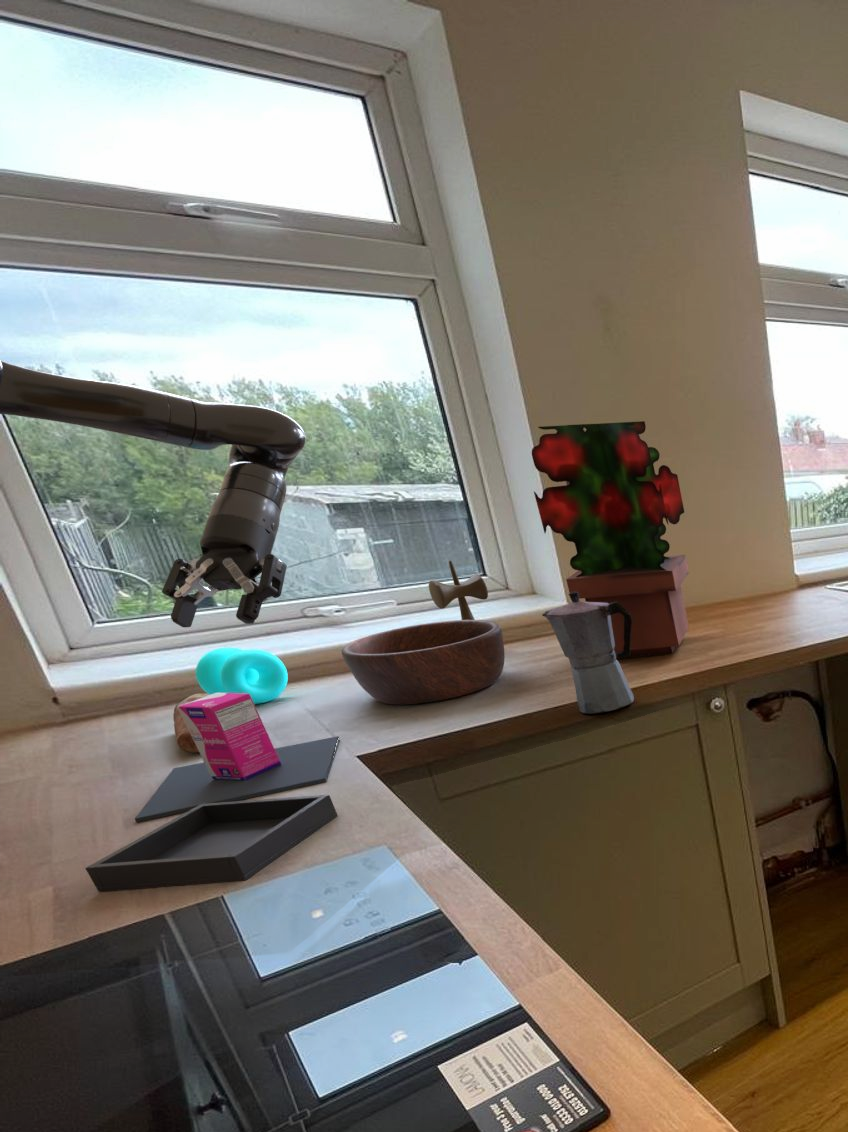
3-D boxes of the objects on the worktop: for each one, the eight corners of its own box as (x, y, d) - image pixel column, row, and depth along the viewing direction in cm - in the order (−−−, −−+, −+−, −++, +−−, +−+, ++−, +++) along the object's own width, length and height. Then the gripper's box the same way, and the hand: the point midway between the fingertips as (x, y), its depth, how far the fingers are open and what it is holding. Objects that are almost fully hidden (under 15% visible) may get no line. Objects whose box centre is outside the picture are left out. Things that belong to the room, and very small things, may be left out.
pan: (98, 892, 90) (84, 868, 89) (211, 825, 104) (201, 803, 103) (245, 880, 91) (234, 856, 90) (338, 815, 105) (329, 794, 104)
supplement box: (210, 780, 116) (174, 705, 112) (251, 763, 121) (218, 691, 117) (243, 781, 115) (209, 706, 111) (283, 764, 120) (252, 691, 116)
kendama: (448, 656, 175) (418, 563, 167) (495, 645, 182) (469, 555, 174) (459, 660, 172) (429, 565, 164) (507, 649, 179) (480, 557, 171)
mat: (136, 822, 106) (134, 818, 106) (175, 771, 121) (173, 768, 121) (326, 781, 115) (324, 778, 115) (339, 739, 131) (338, 736, 131)
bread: (230, 719, 143) (217, 689, 140) (220, 751, 129) (205, 718, 126) (182, 728, 139) (168, 697, 137) (167, 762, 125) (150, 728, 123)
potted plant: (695, 657, 166) (647, 421, 148) (579, 668, 162) (517, 427, 144) (707, 630, 186) (666, 420, 168) (604, 640, 182) (552, 425, 164)
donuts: (241, 711, 146) (217, 658, 142) (205, 707, 149) (181, 655, 145) (300, 693, 155) (279, 643, 151) (265, 690, 158) (244, 640, 154)
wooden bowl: (521, 690, 151) (505, 636, 147) (357, 722, 138) (335, 664, 134) (508, 660, 170) (494, 612, 166) (363, 686, 157) (344, 635, 153)
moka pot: (580, 698, 145) (551, 587, 137) (664, 695, 145) (640, 583, 137) (552, 717, 136) (519, 599, 129) (641, 714, 136) (613, 596, 128)
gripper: (168, 514, 116) (133, 611, 110) (272, 509, 117) (243, 605, 111) (213, 546, 123) (183, 639, 117) (311, 541, 124) (286, 633, 118)
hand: (212, 622), depth 114 cm, fingers open, 8 cm apart
